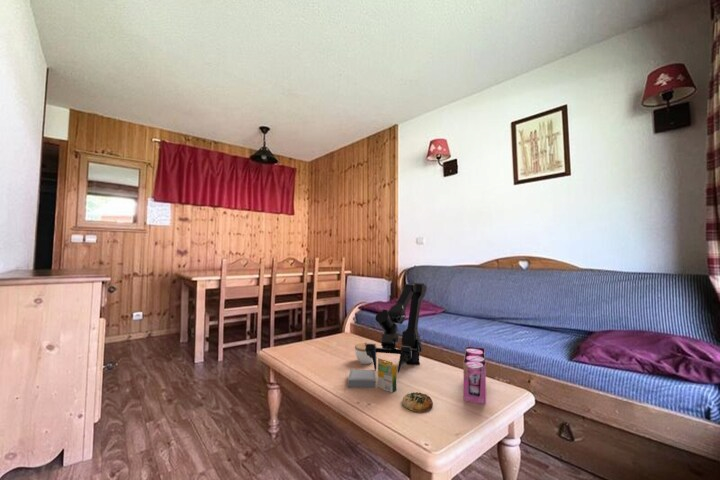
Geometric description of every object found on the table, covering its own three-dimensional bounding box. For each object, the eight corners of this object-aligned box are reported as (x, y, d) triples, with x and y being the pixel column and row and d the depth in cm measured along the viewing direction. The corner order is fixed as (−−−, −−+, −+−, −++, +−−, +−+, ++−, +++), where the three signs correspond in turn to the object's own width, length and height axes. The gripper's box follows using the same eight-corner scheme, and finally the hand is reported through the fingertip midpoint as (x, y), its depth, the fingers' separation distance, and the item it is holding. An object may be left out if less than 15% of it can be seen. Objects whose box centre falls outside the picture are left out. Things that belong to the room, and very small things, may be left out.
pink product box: (486, 406, 108) (485, 367, 109) (462, 402, 111) (462, 364, 112) (485, 380, 130) (485, 348, 131) (465, 377, 133) (465, 346, 134)
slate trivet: (375, 376, 133) (375, 369, 133) (375, 388, 122) (375, 380, 122) (350, 376, 134) (350, 369, 134) (348, 387, 123) (348, 379, 123)
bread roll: (437, 402, 111) (436, 388, 111) (427, 420, 102) (426, 406, 101) (408, 395, 117) (407, 383, 117) (396, 412, 107) (395, 399, 107)
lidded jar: (377, 365, 146) (377, 345, 147) (354, 365, 147) (354, 345, 147) (376, 358, 157) (376, 339, 158) (355, 357, 157) (355, 339, 158)
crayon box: (396, 390, 120) (396, 360, 121) (392, 393, 118) (392, 362, 119) (382, 385, 125) (382, 356, 126) (377, 387, 123) (377, 358, 123)
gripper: (366, 324, 129) (360, 359, 118) (411, 326, 125) (409, 363, 114) (369, 338, 136) (364, 372, 125) (412, 340, 132) (410, 377, 121)
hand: (386, 371), depth 121 cm, fingers open, 9 cm apart
